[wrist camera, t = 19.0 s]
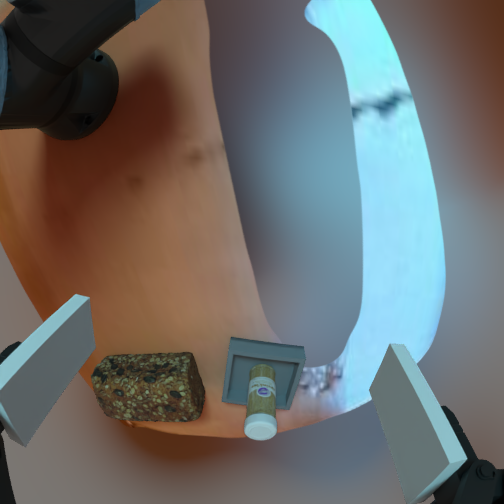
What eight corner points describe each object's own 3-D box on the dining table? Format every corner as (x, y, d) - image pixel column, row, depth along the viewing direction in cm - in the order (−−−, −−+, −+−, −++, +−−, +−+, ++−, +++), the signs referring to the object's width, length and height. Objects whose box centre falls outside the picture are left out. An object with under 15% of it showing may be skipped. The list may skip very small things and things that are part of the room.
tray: (223, 388, 53) (221, 401, 50) (231, 336, 49) (228, 349, 46) (288, 396, 53) (289, 409, 50) (303, 346, 49) (305, 359, 46)
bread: (123, 391, 55) (105, 424, 46) (103, 350, 52) (81, 382, 43) (208, 392, 54) (200, 431, 44) (194, 347, 50) (181, 386, 41)
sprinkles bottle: (274, 361, 49) (275, 421, 37) (276, 381, 51) (278, 440, 38) (247, 363, 50) (241, 423, 37) (250, 383, 51) (246, 442, 38)
